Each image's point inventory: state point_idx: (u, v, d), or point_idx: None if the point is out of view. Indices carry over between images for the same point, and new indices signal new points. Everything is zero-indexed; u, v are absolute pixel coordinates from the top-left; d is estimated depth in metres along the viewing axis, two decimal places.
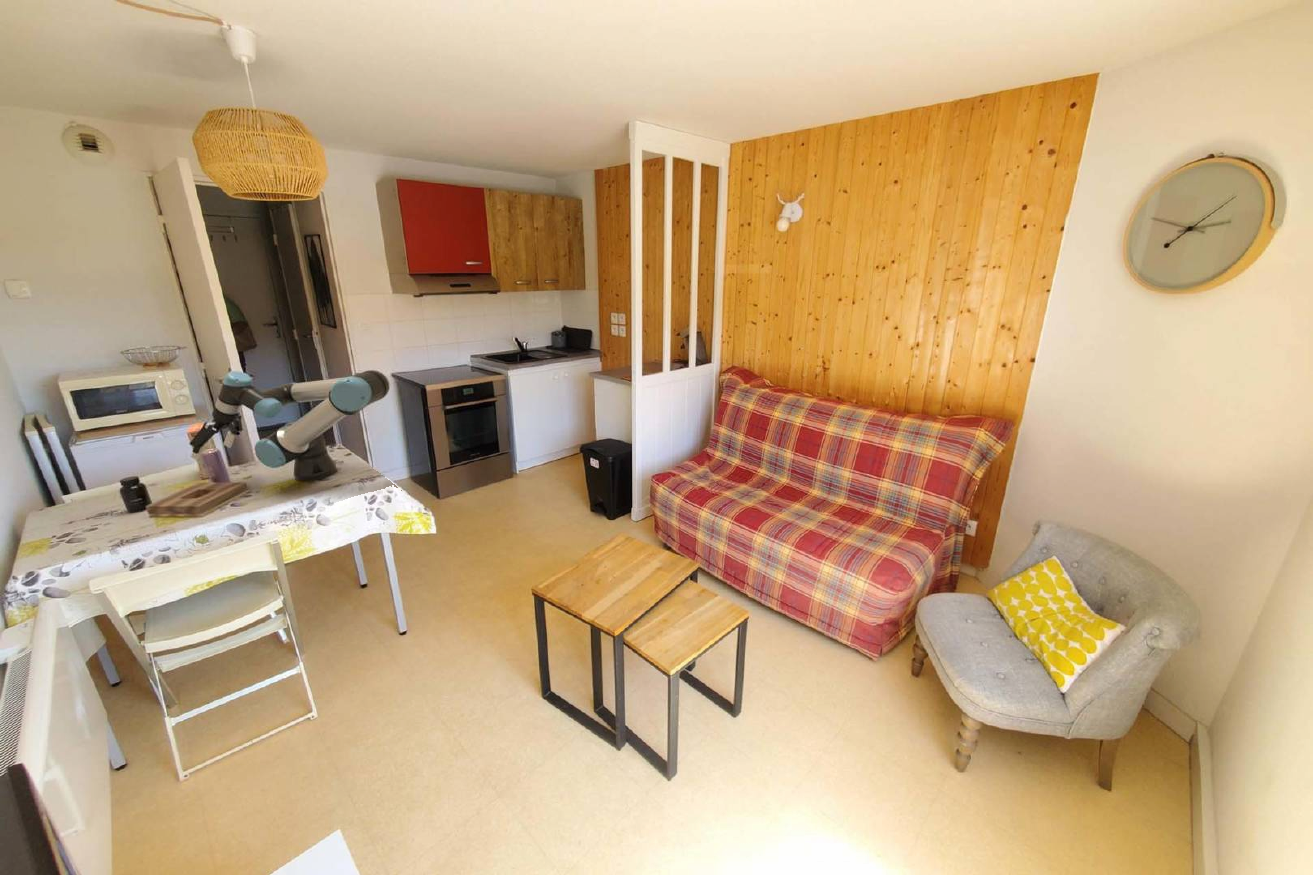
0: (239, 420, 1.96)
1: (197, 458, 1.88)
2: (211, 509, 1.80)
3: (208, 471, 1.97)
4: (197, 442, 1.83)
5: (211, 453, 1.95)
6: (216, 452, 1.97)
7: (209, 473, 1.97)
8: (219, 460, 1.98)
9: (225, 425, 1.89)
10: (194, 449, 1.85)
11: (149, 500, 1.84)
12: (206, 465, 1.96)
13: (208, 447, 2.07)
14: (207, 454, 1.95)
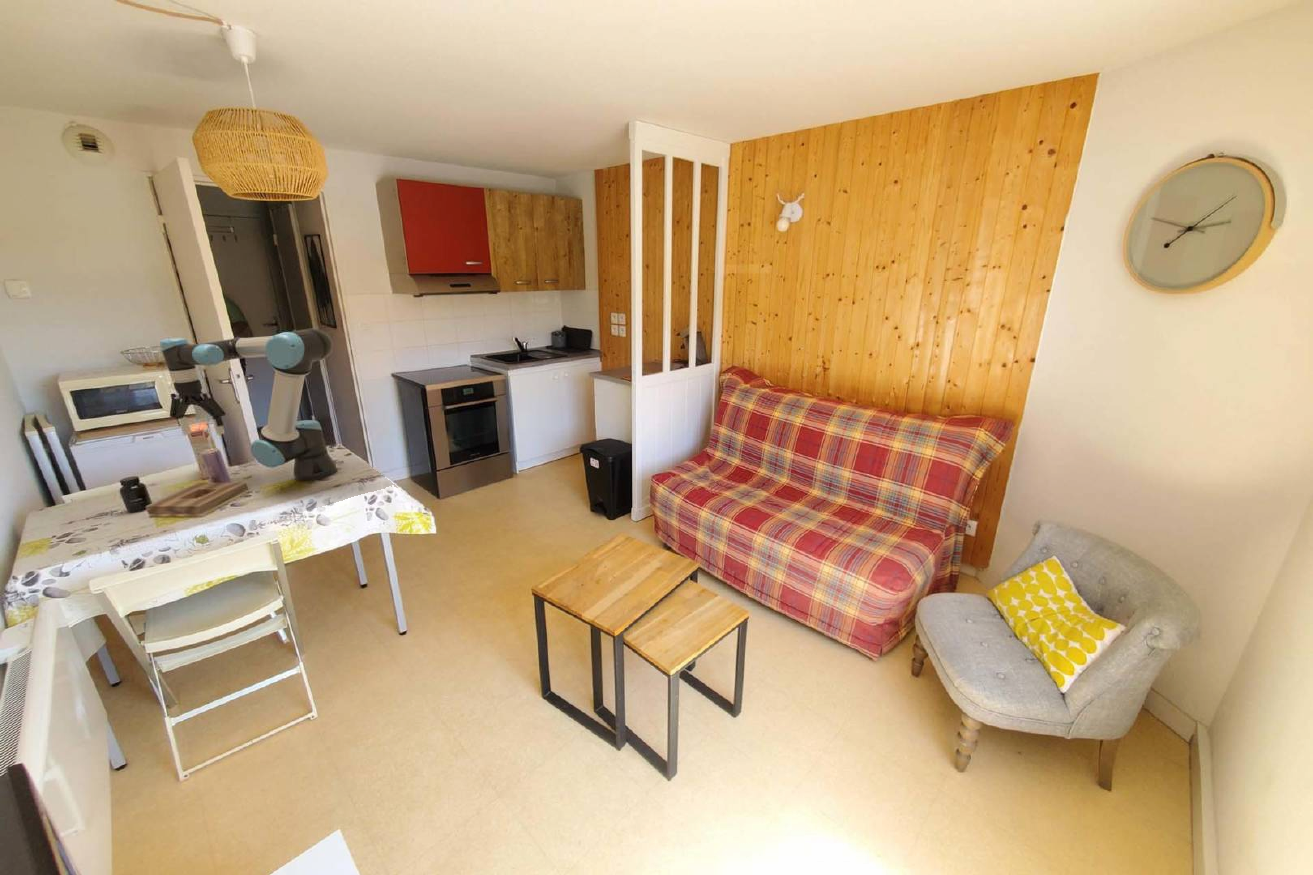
0: (205, 399, 1.88)
1: None
2: (211, 509, 1.80)
3: (208, 471, 1.97)
4: None
5: (211, 453, 1.95)
6: (216, 452, 1.97)
7: (209, 473, 1.97)
8: (219, 460, 1.98)
9: (184, 398, 1.88)
10: None
11: (149, 500, 1.84)
12: (206, 465, 1.96)
13: (208, 447, 2.07)
14: (207, 454, 1.95)
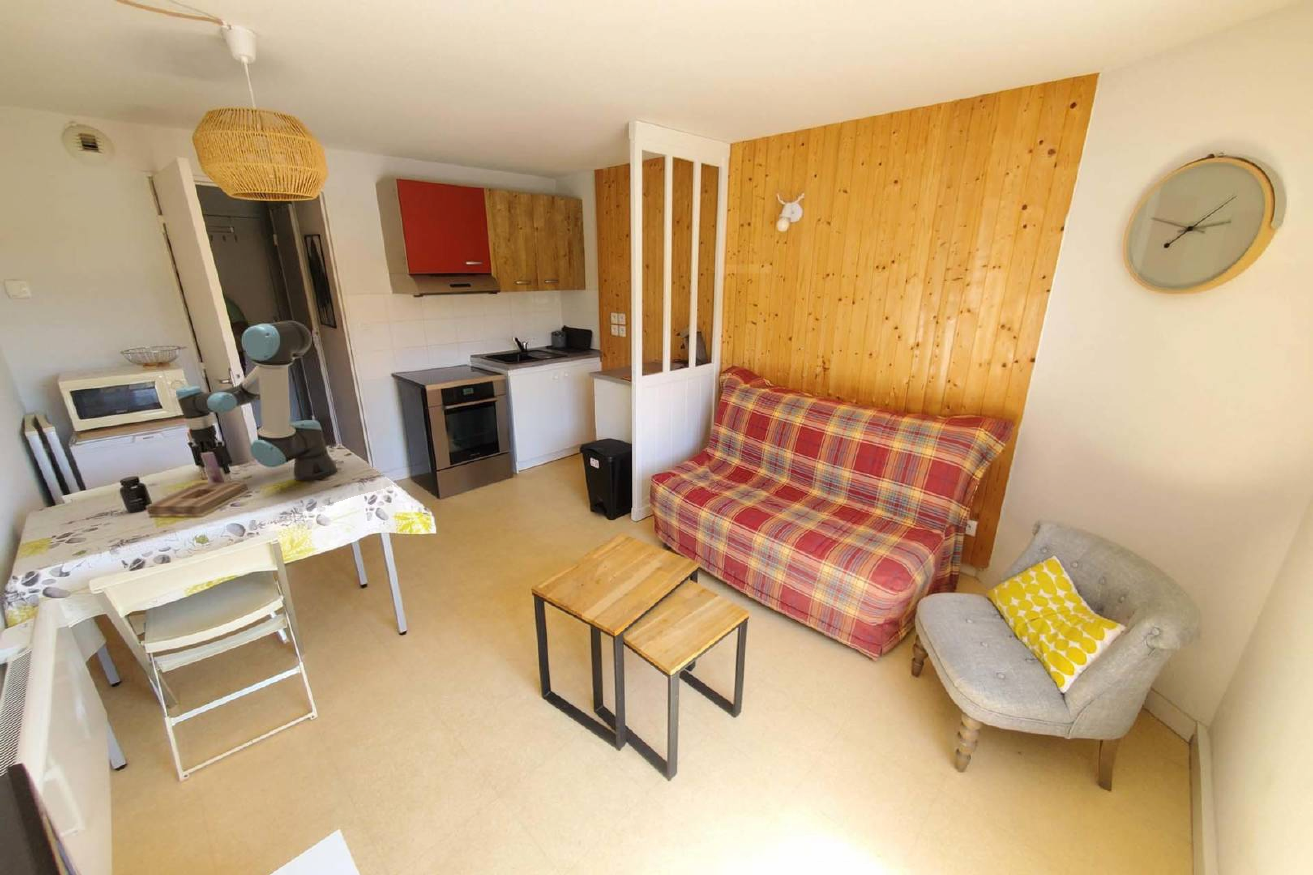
0: (219, 447, 1.95)
1: None
2: (211, 509, 1.80)
3: (208, 471, 1.97)
4: None
5: (211, 453, 1.95)
6: None
7: (209, 473, 1.97)
8: None
9: (199, 443, 1.94)
10: None
11: (149, 500, 1.84)
12: (206, 465, 1.96)
13: None
14: (207, 454, 1.95)
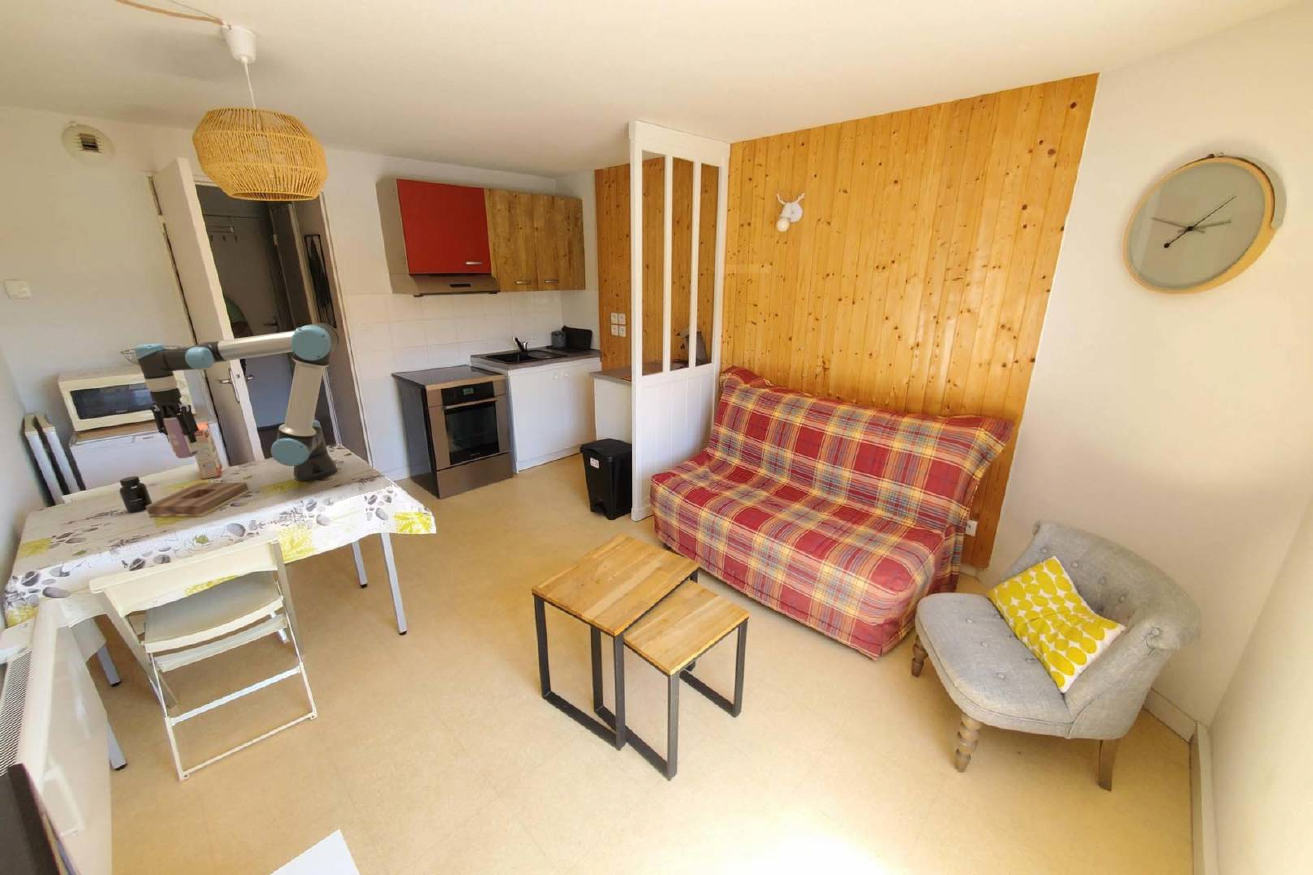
0: (183, 412, 1.76)
1: None
2: (211, 509, 1.80)
3: (171, 439, 1.78)
4: None
5: (175, 419, 1.76)
6: None
7: (173, 441, 1.78)
8: None
9: (162, 407, 1.75)
10: None
11: (149, 500, 1.84)
12: (169, 432, 1.77)
13: (208, 447, 2.07)
14: (170, 420, 1.76)
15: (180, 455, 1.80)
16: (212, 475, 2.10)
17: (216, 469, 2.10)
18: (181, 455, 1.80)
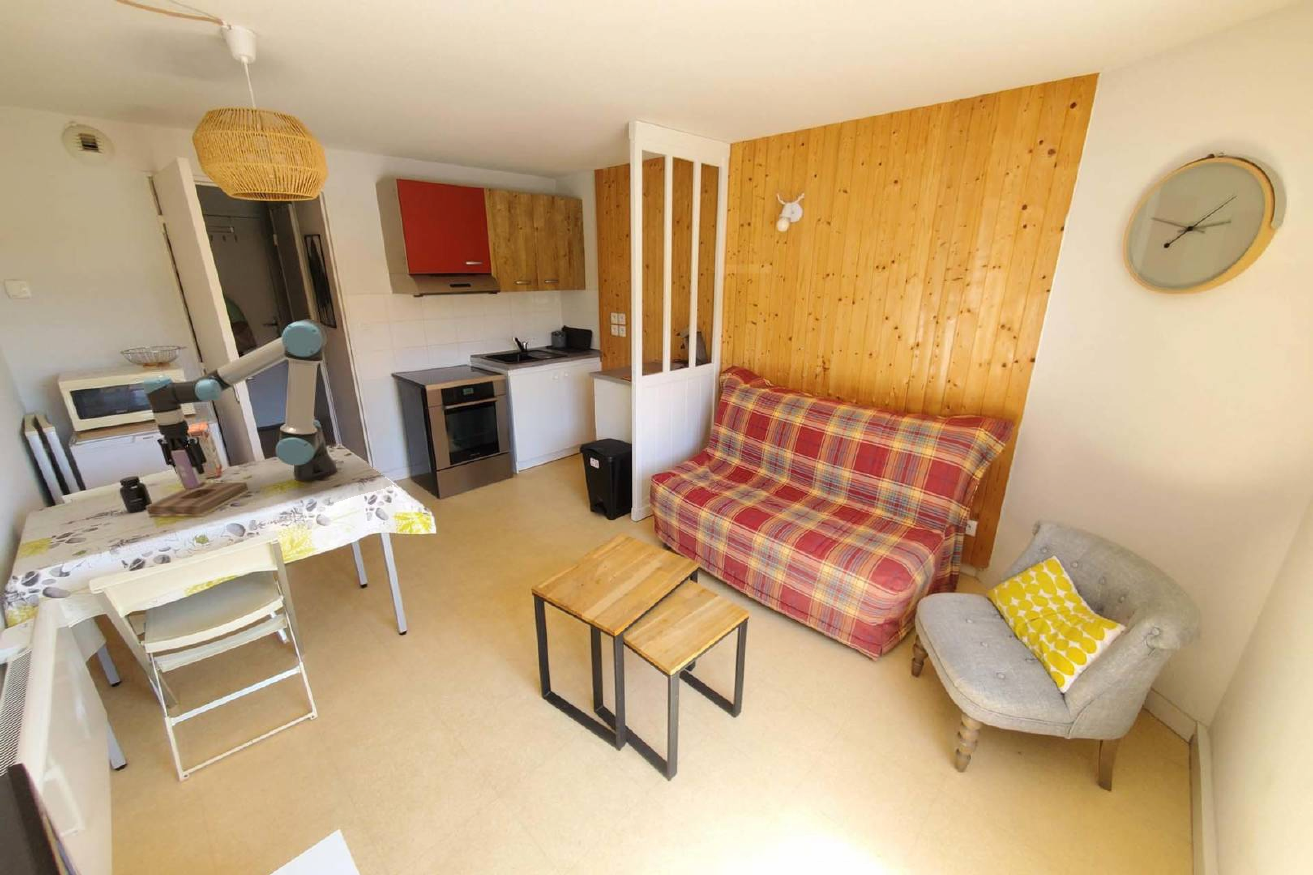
0: (191, 445, 1.77)
1: None
2: (211, 509, 1.80)
3: (180, 471, 1.79)
4: None
5: (183, 451, 1.78)
6: None
7: (181, 473, 1.79)
8: None
9: (169, 440, 1.76)
10: None
11: (149, 500, 1.84)
12: (177, 464, 1.78)
13: (208, 447, 2.07)
14: (178, 452, 1.77)
15: (188, 486, 1.81)
16: (212, 475, 2.10)
17: (216, 469, 2.10)
18: (189, 486, 1.81)
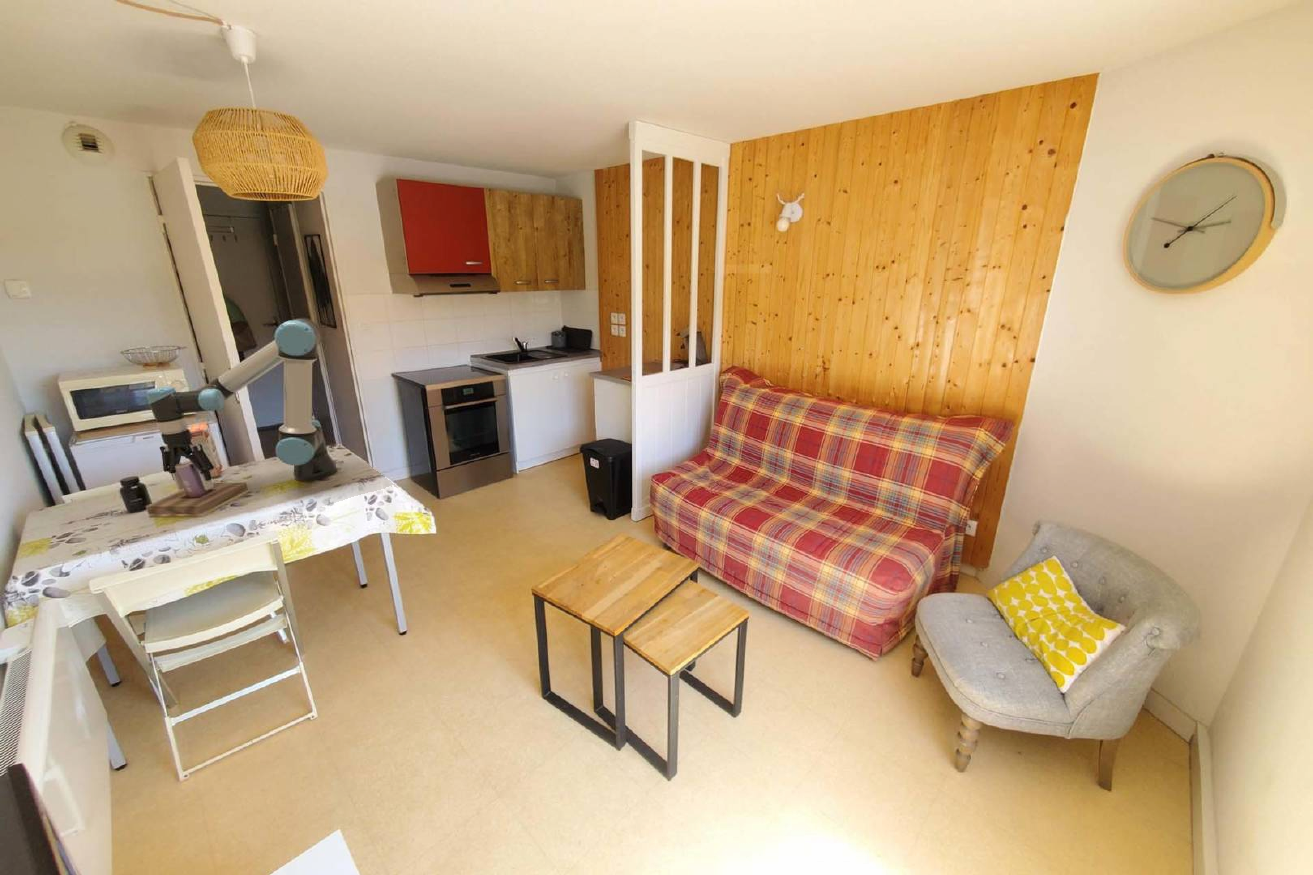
0: (195, 452, 1.78)
1: None
2: (211, 509, 1.80)
3: (184, 486, 1.81)
4: None
5: (186, 466, 1.79)
6: (192, 465, 1.81)
7: (186, 488, 1.81)
8: (196, 473, 1.82)
9: (173, 449, 1.77)
10: None
11: (149, 500, 1.84)
12: (182, 479, 1.80)
13: (208, 447, 2.07)
14: (182, 467, 1.79)
15: None
16: (212, 475, 2.10)
17: (216, 469, 2.10)
18: None
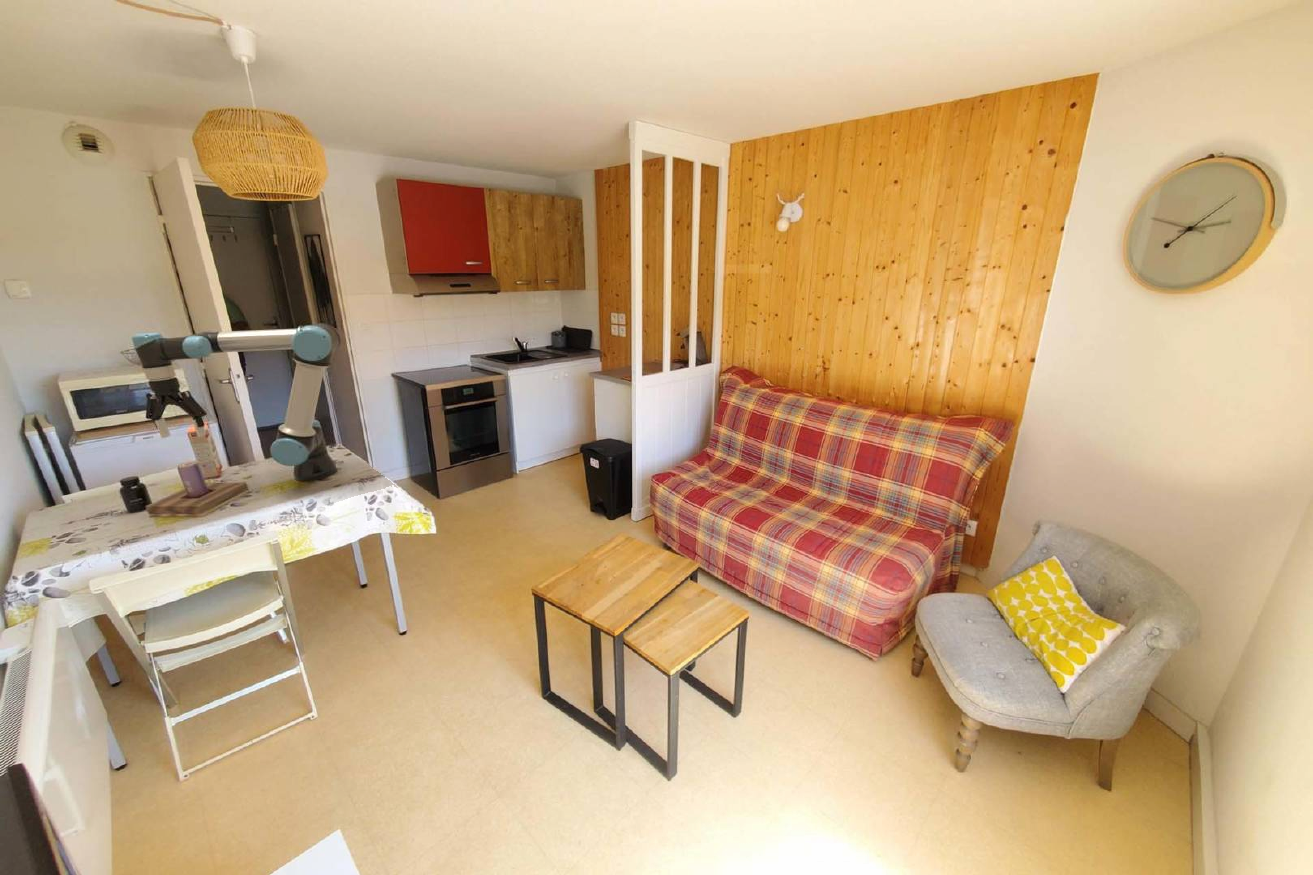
0: (184, 398, 1.75)
1: None
2: (211, 509, 1.80)
3: (185, 486, 1.81)
4: None
5: (189, 466, 1.80)
6: (194, 465, 1.81)
7: (187, 488, 1.81)
8: (198, 474, 1.82)
9: (161, 397, 1.74)
10: None
11: (149, 500, 1.84)
12: (183, 479, 1.80)
13: (208, 447, 2.07)
14: (184, 467, 1.79)
15: None
16: (212, 475, 2.10)
17: (216, 469, 2.10)
18: None
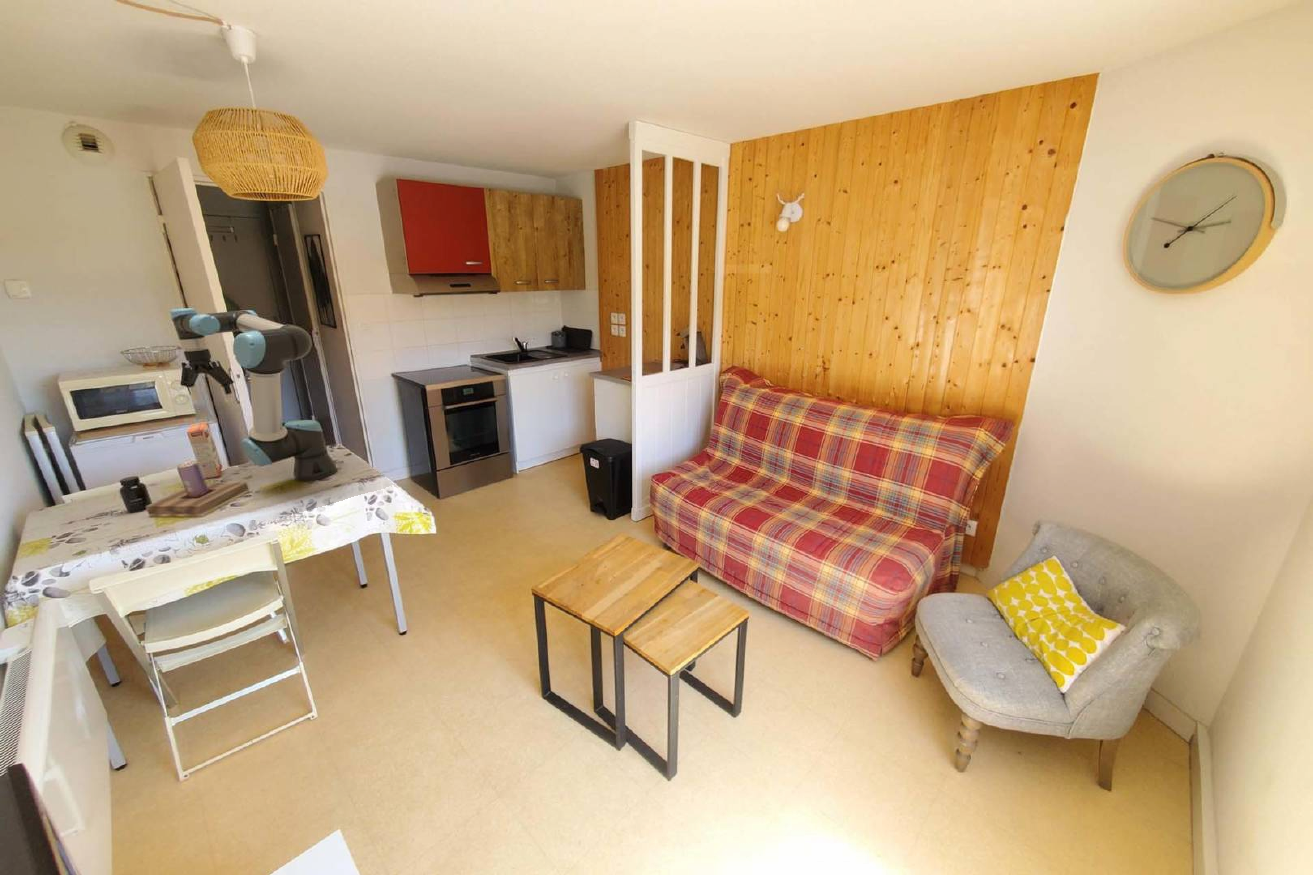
0: (214, 367, 1.96)
1: None
2: (211, 509, 1.80)
3: (185, 486, 1.81)
4: None
5: (188, 466, 1.79)
6: (194, 465, 1.81)
7: (187, 488, 1.81)
8: (197, 474, 1.82)
9: (194, 366, 1.95)
10: None
11: (149, 500, 1.84)
12: (183, 479, 1.80)
13: (208, 447, 2.07)
14: (184, 467, 1.79)
15: None
16: (212, 475, 2.10)
17: (216, 469, 2.10)
18: None
